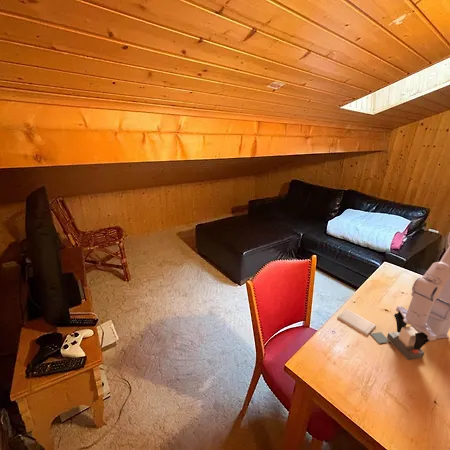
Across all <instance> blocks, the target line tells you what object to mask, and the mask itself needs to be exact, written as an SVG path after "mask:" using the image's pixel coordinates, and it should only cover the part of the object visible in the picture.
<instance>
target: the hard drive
mask: <svg viewBox="0 0 450 450" xmlns="http://www.w3.org/2000/svg"><path fill="white" fill-rule="evenodd" d="M337 319H338V320H340V321H341V322H343V323H344V324H346V325H348V326H350V327H351V328H352V329H355V330H356V331H358V332H359V333H361V334H363V335H365V336H366V337H368V336H369V334H370V333H372V331H373V330H375V328H376V327H377V325H376V324H374V323H373V322H371V321H369V320H368V319H366V318H365V317H362V316H361V315H359V314H357V313H355V312H353V310H352V311H351V309H348V308H346V309H345V310H344V311H342V312H341V313H340V314H339V315H338V316H337Z"/></svg>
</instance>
